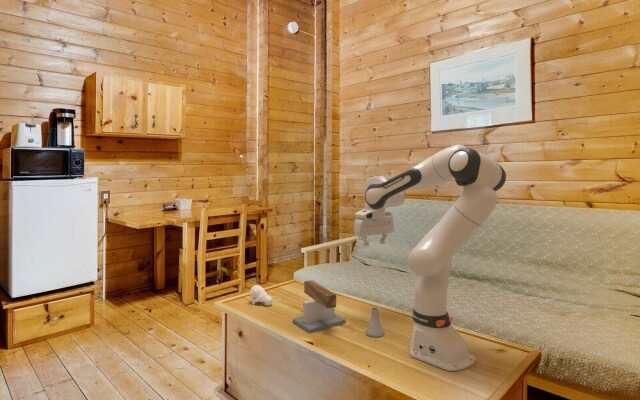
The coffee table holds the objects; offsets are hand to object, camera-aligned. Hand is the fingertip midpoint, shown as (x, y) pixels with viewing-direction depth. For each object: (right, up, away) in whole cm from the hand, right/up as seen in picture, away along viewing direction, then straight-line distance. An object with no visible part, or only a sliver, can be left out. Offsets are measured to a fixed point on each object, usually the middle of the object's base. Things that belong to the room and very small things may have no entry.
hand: (374, 244), depth 167 cm
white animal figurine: (-51, -30, +16) cm, 62 cm away
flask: (-2, -33, -17) cm, 37 cm away
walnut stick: (-24, -22, -7) cm, 33 cm away
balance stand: (-24, -32, -6) cm, 40 cm away
